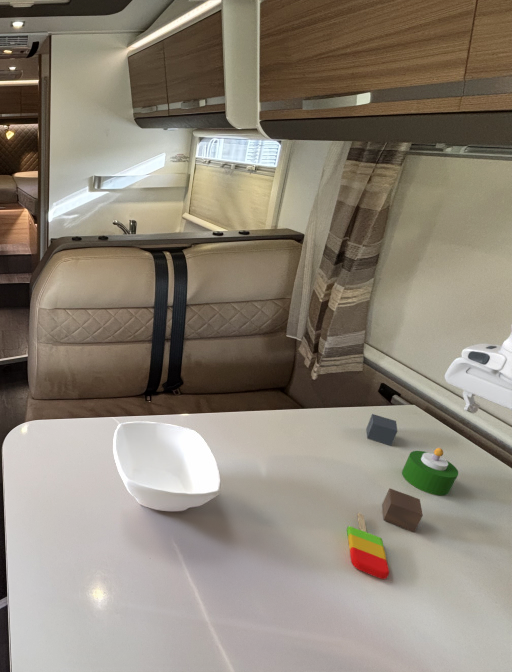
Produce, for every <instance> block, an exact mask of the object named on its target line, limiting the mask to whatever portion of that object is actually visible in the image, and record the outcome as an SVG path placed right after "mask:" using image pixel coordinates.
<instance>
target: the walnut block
mask: <svg viewBox="0 0 512 672" xmlns="http://www.w3.org/2000/svg"><path fill="white" fill-rule="evenodd" d="M381 506H382V518H383V521H385V522H387V523H389V524H392V525H394V526H397V527H399V528H402V529H404V530H407V531H409V532H412V533H415V532H416V531H417V528H418V527H419V524H420V522H421V520H422V518H423V517H424V515H423V509H422V503H421V499H420V498H418V497H415V496H413V495H410V494H408V493H407V494H406V493H404V492H401V491H398V490H396V489H393V488H388V490H387V492H386V495H385V497H384V499H383V502H382V504H381Z"/></svg>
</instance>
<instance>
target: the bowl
mask: <svg viewBox="0 0 512 672" xmlns="http://www.w3.org/2000/svg"><path fill="white" fill-rule="evenodd" d="M112 443H113V444H112V452H113V458H114V462H115V465H116V468H117V472H118V474H119V476H120V478H121V480H122V481H123V484H124V487H125V488H126V490H127V491H128V493H129V494H130V496H132V497H133V498H135V500H136V502H137V503H138V504H139V505H141V506H143V507H146V508H149V509H152V510H156V511H162V512H183V511H186V510H187V509H189V508H196V507H201V506H203V505H205V504H206V503H208V502H209V501H211V500H212V499H214V498H216V497H217V496H219V494H220V492H221V487H222V481H221V475H220V469H219V466H218V462H217V460H216V458H215V456H214V454H213V451H212V450H211V448H210V446H209V444H208V443H207V441H206V440H205V439H204V438H203V437H202V436H201V434H200V433H199V432H198V431H196V430H195V429H194V430H193V429H191V428H188V427H185V426H180V425H175V424H170V423H165V422H164V423H163V422H157V421H142V420H141V421H126V422H120V423H119V424H118V425H117V427H116V429H115V431H114V434H113V441H112Z"/></svg>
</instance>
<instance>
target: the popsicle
mask: <svg viewBox="0 0 512 672" xmlns="http://www.w3.org/2000/svg"><path fill="white" fill-rule="evenodd" d="M357 520H358V527H359V529H358V528H356V527H353V526H350V525H348V526H347V528H346V534H347V541H348V548H349V556H350V562H351V564H352V565H353V567H354V568H356V569H357V570H359V571H361V572H362V573H366V574H368V575H371V576H373V577H376V578H378V579H381V580H385V579H387V578H388V577H389V575H390V569H389V564H388V560H387V556H386V551H385V547H384V541H383V538H382V537H380V536H378V535H375V534H373V533H369V532H367V527H366V522H365V517H364V515H363V514H362V513H360V512H358V513H357Z"/></svg>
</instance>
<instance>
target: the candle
mask: <svg viewBox="0 0 512 672" xmlns="http://www.w3.org/2000/svg"><path fill="white" fill-rule="evenodd" d="M442 456H444V450H443V448H441V447H436V448H435V449H434V451H433V453H432V452H428V451H423V450H413V451H411V452H410V453H409V454H408V457H407V459H406V461H405V464H404V466H403V468H402V471H401V475H402V477H403V478H404V480H405V481H407V483H408V484H409V485H411V486H413V487H415V488H416V489H418V490H420V491H422V492H424V493H426V494H430V495H434V496H441V497H443V496H447V495H449V493H450V492H451V490H452V488H453V486H454V484H455V481H456V480H457V478H458V476H459V470H458V469H457V467H456V466H455V465H454V464H453V463H451V462H450V461H449V460H447V459H446V458H444V457H442Z"/></svg>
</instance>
